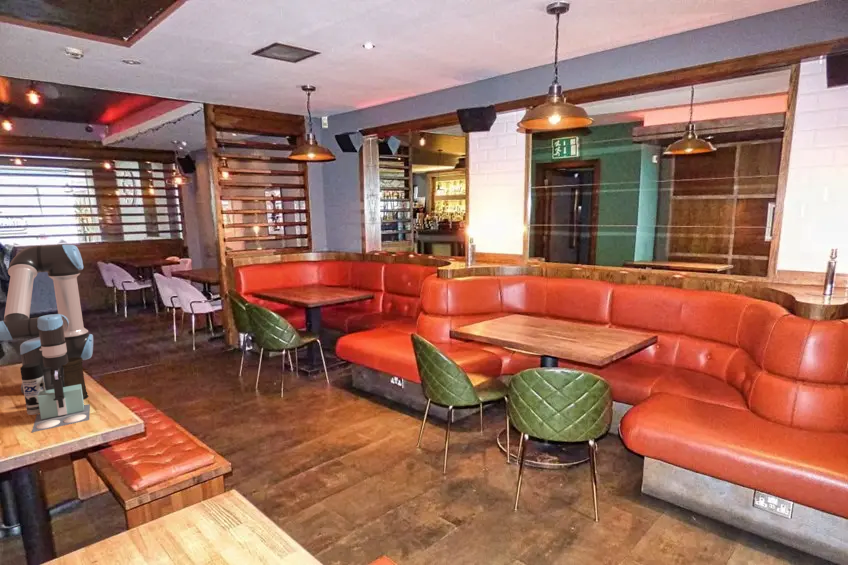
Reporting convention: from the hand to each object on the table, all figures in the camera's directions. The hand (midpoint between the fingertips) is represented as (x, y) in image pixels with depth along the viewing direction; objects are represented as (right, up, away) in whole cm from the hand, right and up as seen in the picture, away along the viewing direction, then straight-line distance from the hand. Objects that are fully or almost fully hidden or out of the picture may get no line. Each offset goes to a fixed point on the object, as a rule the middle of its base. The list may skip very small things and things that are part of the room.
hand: (63, 411), depth 186 cm
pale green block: (0, 0, 0) cm, 0 cm away
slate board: (+3, -2, -4) cm, 5 cm away
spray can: (-12, -2, +3) cm, 12 cm away
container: (-6, 0, +15) cm, 16 cm away
